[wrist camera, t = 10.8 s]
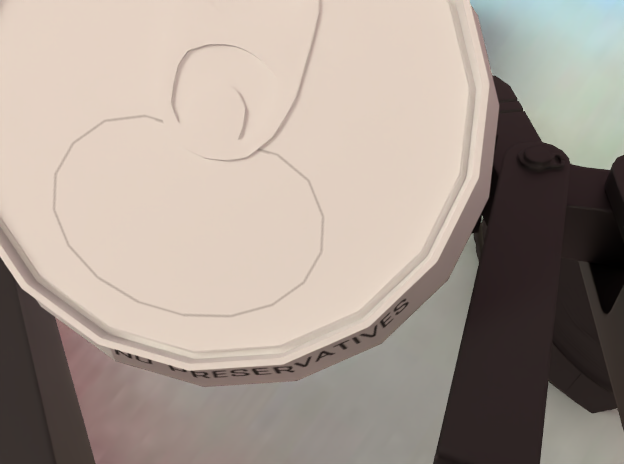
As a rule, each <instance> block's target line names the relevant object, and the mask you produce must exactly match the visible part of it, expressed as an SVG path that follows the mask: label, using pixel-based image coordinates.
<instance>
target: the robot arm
mask: <svg viewBox="0 0 624 464" xmlns="http://www.w3.org/2000/svg"><path fill="white" fill-rule="evenodd" d="M492 77H493V81H494V85H495V89H496V94H497V98H498V102H499V113H498V122H497V131H496V140H495V149H494V157H493V166H492V175H491V184H490V193H489V198H488V200H487V202H486V204H485V206H484V208H483V210H482V212H481V214H480V216H479V218H478V220H477V223H476V225H475V227H474V229H473V231H472V233H478V232H479V227H480V222H481V217H482V215H483V218H484V221H485V223H486V226H487V231H486V235H485V239H484V244H483V248H482V253H481V257H480V261H479V266H478V270H477V274H476V279H475V283H474V288H473V292H472V296H471V301H470V305H469V310H468V314H467V318H466V323H465V327H464V332H463V336H462V340H461V345H460V349H459V354H458V358H457V362H456V367H455V371H454V375H453V380H452V384H451V389H450V393H449V397H448V402H447V406H446V411H445V415H444V419H443V424H442V428H441V433H440V437H439V441H438V446H437V450H436V454H435V458H434V462H433V464H540V457H541V447H542V437H543V428H544V418H545V408H546V399H547V389H548V379H549V370H550V360H551V350H552V340H553V331H554V321H555V311H556V302H557V292H558V282H559V273H560V263H561V258H564V259H570V260H577V261H578V262H579V266H580V269H581V273H582V277H583V280H584V284H585V288H586V292H587V295H588V299H589V303H590V307H591V310H592V314H593V318H594V322H595V325H596V329H597V333H598V337H599V340H600V344H601V348H602V352H603V355H604V359H605V363H606V367H607V370H608V374H609V378H610V382H611V385H612V389H613V393H614V397H615V400H616V404H617V408H618V412H619V415H620V419H621V423H622V427H623V430H624V155H623V156H620V157H618V158H617V159H616V160H615V162H614V163H613V164H612V167H611V170H604V169H595V168H587V167H581V166H576V165H572V164H570V161H569V158H568V157H567V155H566V154H565V153H564V152H563V151H562V150H560V149H558V148H557V147H555V146H553V145H551V144H547V143H543V142H542V141H541V139H540V137H539V136H538V134H537V132H536V130H535V129H534V127H533V125H532V123H531V122H530V120H529V118H528V116H527V115H526V113H525V111H523V108H522V106H521V104H520V103H519V101H517V97H516V96H515V94H514V92H513V90H512V89H511V87H510V86H509V85H508V84H506V83H505V82H503V81H502V80H501V79H499V78H498V77H496V76H492ZM0 464H95V460H94V457H93V453H92V449H91V446H90V442H89V439H88V435H87V431H86V428H85V424H84V421H83V417H82V413H81V410H80V406H79V402H78V399H77V395H76V392H75V388H74V384H73V381H72V377H71V374H70V370H69V366H68V363H67V359H66V355H65V352H64V348H63V345H62V341H61V337H60V334H59V330H58V327H57V323H56V319H55V316H53V315H52V314H51V313H49V312H48V311H46V310H45V309H44V308H42V307H41V306H40V305H39V303H38V302H37V300H36V299H35V298H34V297H33V296H31V295H30V294H28V293H27V292H26V291H24V290H23V289H22V288H21V287H20V285H19V284H18V282H17V281H16V279H15V278H14V276H13V275H12V273H11V272H10V270H9V269H8V267H7V266H6V264H5V263H4V261H3V260H2V259H1V257H0Z"/></svg>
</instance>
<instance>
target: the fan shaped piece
mask: <svg viewBox="0 0 624 464" xmlns="http://www.w3.org/2000/svg"><path fill="white" fill-rule="evenodd" d="M486 231H487V226H486V223H485V221H484V219H483V221H482V223H480V227H479V232H478V233H474V239H475V242H476V252H477V256H478V259H479V261H480V257H481V253H482V248H483V244H484V239H485V235H486ZM548 381H549V382H550V383H551V384H553V385H554V386H555V387H557V388H558V389H559V390H560V391H562V392H563V393H565V394H566V395H567V396H568V397H570V398H571V399H572V400H574V401H575V402H576V403H578V404H579V405H581V406H582V407H583V408H585V409H586V410H588V411H589V412H591V413H597V412H601V411H605V410H612V409H616V408H617V404H616V400H615V397H614V393H613V389H612V385H611V382H610V378H609V374H608V370H607V367H606V363H605V359H604V355H603V352H602V348H601V344H600V340H599V337H598V333H597V329H596V325H595V322H594V318H593V314H592V310H591V307H590V303H589V299H588V295H587V292H586V288H585V284H584V280H583V277H582V273H581V269H580V266H579V262H578V261H577V260H570V259H564V258H561V263H560V273H559V282H558V292H557V302H556V311H555V321H554V331H553V340H552V350H551V360H550V370H549V379H548Z"/></svg>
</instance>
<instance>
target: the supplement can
mask: <svg viewBox="0 0 624 464" xmlns="http://www.w3.org/2000/svg"><path fill="white" fill-rule="evenodd" d="M498 113H499V102H498V98H497V94H496V89H495V85H494V81H493V77H492V73H491V69H490V64H489V60H488V56H487V52H486V48H485V43H484V39H483V35H482V31H481V27H480V23H479V18H478V15H477V13H476V12H475V10H474V9H473V7H472V6H471V4H470V0H0V257H1V259H2V260H3V261H4V263H5V264H6V266H7V267H8V269H9V270H10V272H11V273H12V275H13V276H14V278H15V279H16V281H17V282H18V284H19V285H20V287H21V288H22V289H23V290H24V291H26V292H27V293H28V294H30V295H31V296H33V297H34V298H35V299H36V300H37V302H38V303H39V305H40V306H41V307H42V308H44V309H45V310H46V311H48V312H49V313H51V314H52V315H53V316H55V317H56V318H57V319H59V320H60V321H61V322H63V323H64V324H66V325H67V326H68V327H70V328H71V329H72V330H74V331H75V332H77V333H78V334H79V335H81V336H82V337H83V338H85V339H86V340H87V341H89V342H90V343H92V344H93V345H94V346H96V347H97V348H98V349H100V350H101V351H103V352H104V353H105V354H107V355H108V356H109V357H111V358H112V359H114V360H115V361H117V362H121V363H124V364H128V365H131V366H134V367H138V368H141V369H145V370H148V371H152V372H155V373H159V374H162V375H165V376H169V377H172V378H176V379H179V380H183V381H186V382H189V383H193V384H196V385H200V386H203V387H210V386H225V385H240V384H256V383H271V382H286V381H297V380H300V379H302V378H304V377H307V376H309V375H311V374H313V373H316V372H318V371H320V370H322V369H325V368H327V367H329V366H332V365H334V364H336V363H338V362H341V361H343V360H345V359H348V358H350V357H352V356H354V355H357V354H359V353H361V352H364V351H366V350H368V349H370V348H373V347H375V346H377V345H379V344H381V343H382V342H384V341H385V340H386V339H387V338H388V337H389V336H390V335H391V334H392V333H393V332H394V331H395V330H396V329H397V328H398V327H399V326H400V325H401V324H402V323H403V322H404V321H406V320H407V319H408V318H409V317H410V316H411V315H412V314H413V313H414V312H415V311H416V310H417V309H418V308H419V307H420V306H421V305H422V304H423V303H424V302H425V301H427V300H428V299H429V298H430V297H431V296H432V295H433V294H434V293H435V292H436V291H437V290H438V289H439V288H440V287H441V286H442V285H443V284H444V283H445V282H446V281H447V280H448V279H449V277H450V275H451V273H452V271H453V269H454V267H455V265H456V263H457V261H458V259H459V257H460V255H461V253H462V251H463V249H464V247H465V245H466V243H467V241H468V239H469V237H470V235H471V233H472V231H473V229H474V227H475V225H476V223H477V220H478V218H479V216H480V214H481V212H482V210H483V208H484V206H485V204H486V202H487V200H488V198H489V193H490V184H491V175H492V166H493V157H494V149H495V140H496V131H497V122H498Z"/></svg>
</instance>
